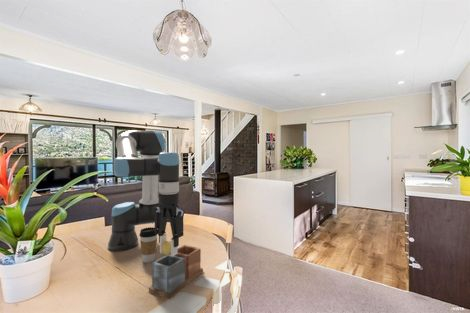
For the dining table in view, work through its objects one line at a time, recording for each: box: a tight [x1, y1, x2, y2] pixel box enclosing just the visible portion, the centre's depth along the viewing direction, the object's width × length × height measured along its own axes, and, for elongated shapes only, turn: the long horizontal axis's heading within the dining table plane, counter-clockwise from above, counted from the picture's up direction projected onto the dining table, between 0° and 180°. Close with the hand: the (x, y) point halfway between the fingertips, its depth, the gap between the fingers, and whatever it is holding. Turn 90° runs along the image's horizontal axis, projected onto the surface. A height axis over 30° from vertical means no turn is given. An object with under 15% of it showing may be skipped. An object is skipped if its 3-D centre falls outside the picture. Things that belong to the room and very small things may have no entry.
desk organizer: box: [148, 244, 204, 300], centre depth 92 cm, size 10×21×10 cm, turn 154°
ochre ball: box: [161, 240, 171, 256], centre depth 87 cm, size 5×5×5 cm
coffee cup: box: [139, 226, 158, 263], centre depth 110 cm, size 8×8×15 cm
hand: (168, 253), depth 87 cm, fingers closed on ochre ball, 5 cm apart
